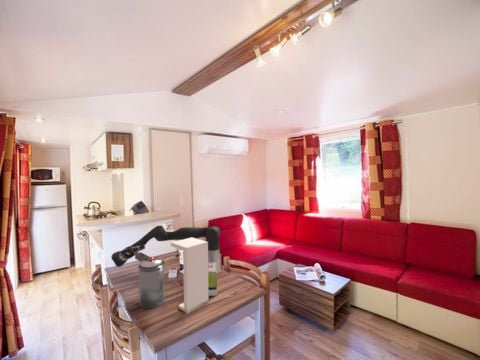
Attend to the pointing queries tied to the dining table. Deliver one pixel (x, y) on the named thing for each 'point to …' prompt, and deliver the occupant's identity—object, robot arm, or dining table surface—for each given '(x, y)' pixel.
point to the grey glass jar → (151, 287)
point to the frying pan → (168, 258)
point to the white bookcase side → (194, 272)
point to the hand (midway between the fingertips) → (137, 247)
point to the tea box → (212, 279)
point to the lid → (148, 261)
